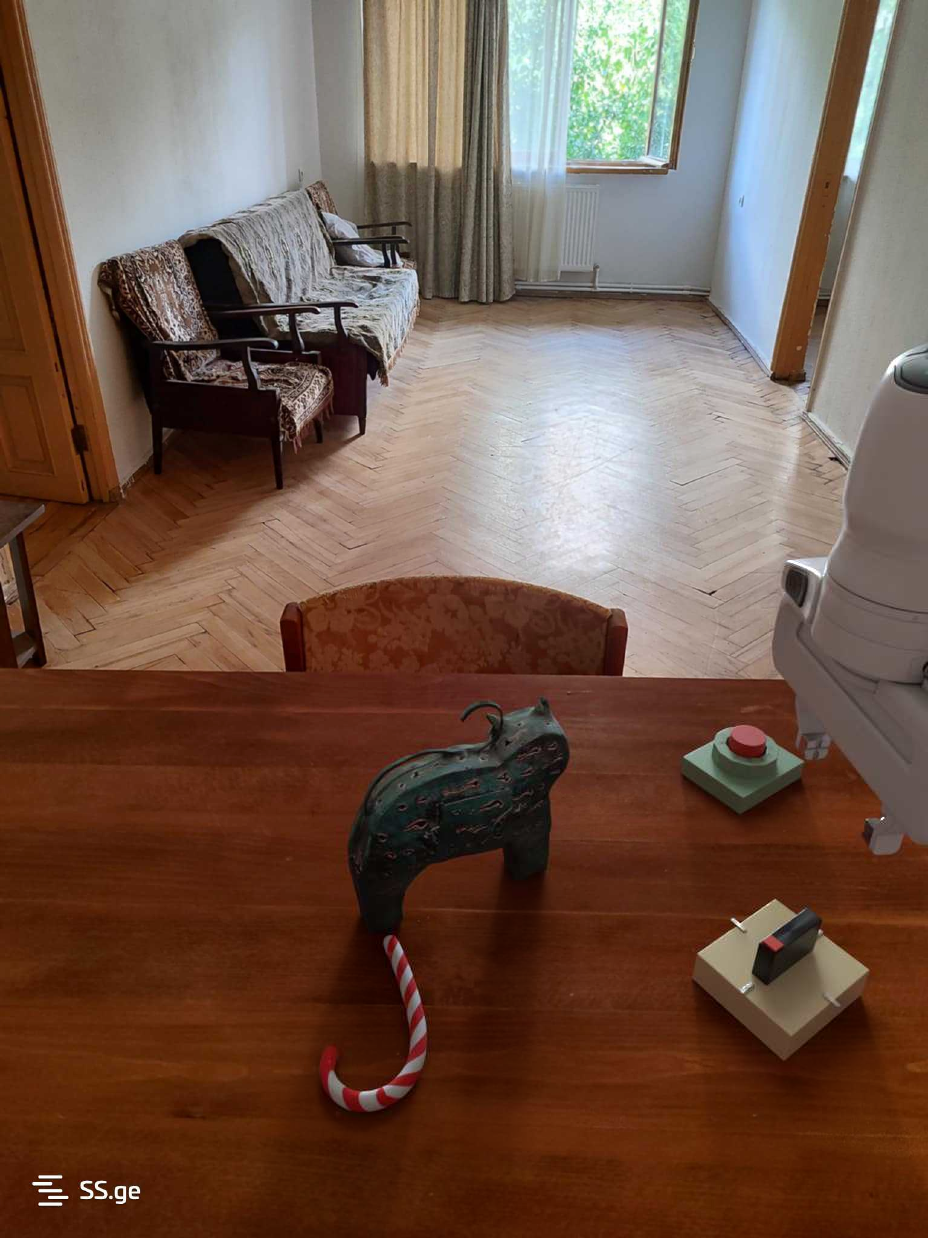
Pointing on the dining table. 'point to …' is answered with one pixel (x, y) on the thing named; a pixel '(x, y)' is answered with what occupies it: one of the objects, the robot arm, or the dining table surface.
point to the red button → (747, 741)
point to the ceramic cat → (458, 809)
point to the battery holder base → (779, 982)
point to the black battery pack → (786, 946)
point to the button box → (741, 772)
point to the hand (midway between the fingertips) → (842, 797)
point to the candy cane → (417, 1052)
